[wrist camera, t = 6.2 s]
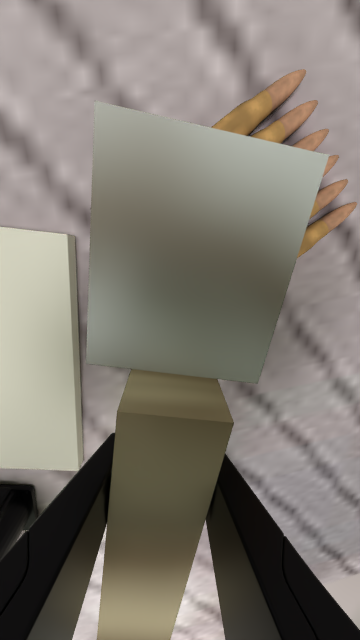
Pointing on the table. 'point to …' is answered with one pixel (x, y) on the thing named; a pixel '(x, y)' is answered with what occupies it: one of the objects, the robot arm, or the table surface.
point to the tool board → (39, 352)
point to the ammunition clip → (257, 110)
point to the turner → (180, 328)
